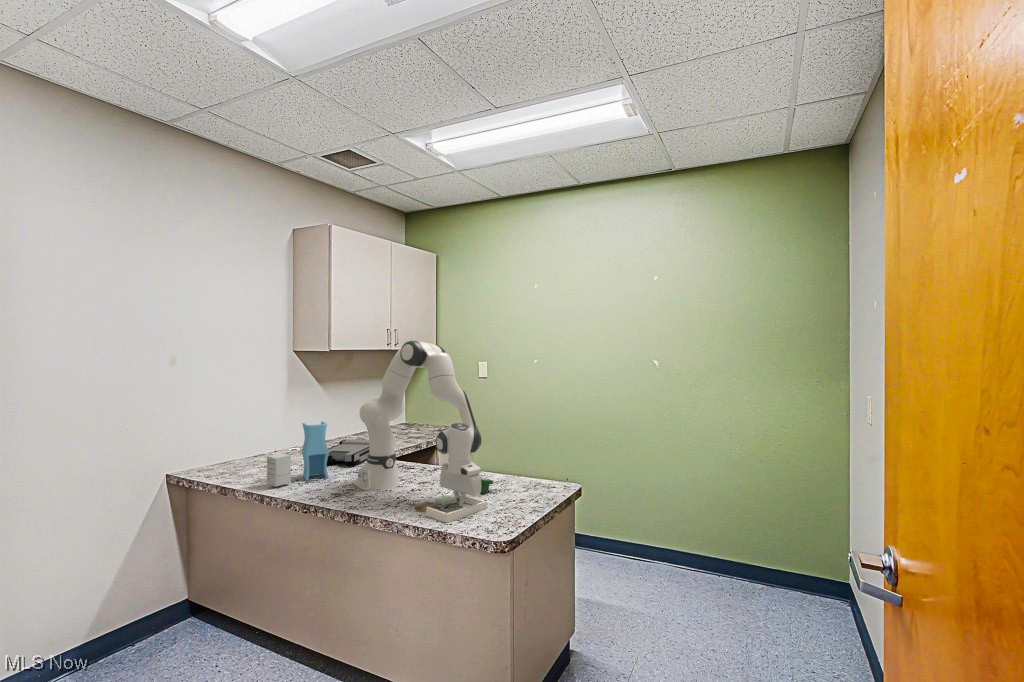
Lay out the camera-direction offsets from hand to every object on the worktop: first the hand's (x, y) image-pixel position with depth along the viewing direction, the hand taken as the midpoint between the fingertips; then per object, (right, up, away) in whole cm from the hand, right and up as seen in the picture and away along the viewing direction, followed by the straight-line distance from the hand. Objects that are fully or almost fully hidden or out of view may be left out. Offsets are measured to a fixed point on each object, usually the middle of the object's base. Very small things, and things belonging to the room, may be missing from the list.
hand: (459, 502), depth 196 cm
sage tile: (-6, -2, +5) cm, 8 cm away
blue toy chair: (-73, -2, +45) cm, 86 cm away
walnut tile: (-13, -2, -2) cm, 13 cm away
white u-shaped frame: (0, -2, -6) cm, 7 cm away
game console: (-67, -3, +79) cm, 104 cm away
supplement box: (-84, -2, +32) cm, 90 cm away
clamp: (+4, -3, +20) cm, 21 cm away
